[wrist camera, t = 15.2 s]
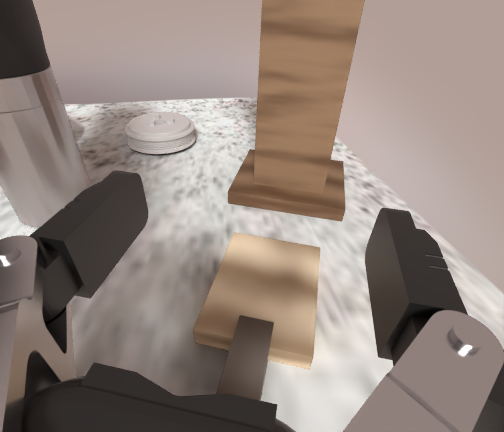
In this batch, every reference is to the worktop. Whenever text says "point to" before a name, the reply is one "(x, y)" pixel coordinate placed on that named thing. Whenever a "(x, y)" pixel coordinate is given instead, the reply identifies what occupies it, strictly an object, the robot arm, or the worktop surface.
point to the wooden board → (261, 310)
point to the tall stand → (299, 108)
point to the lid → (160, 133)
